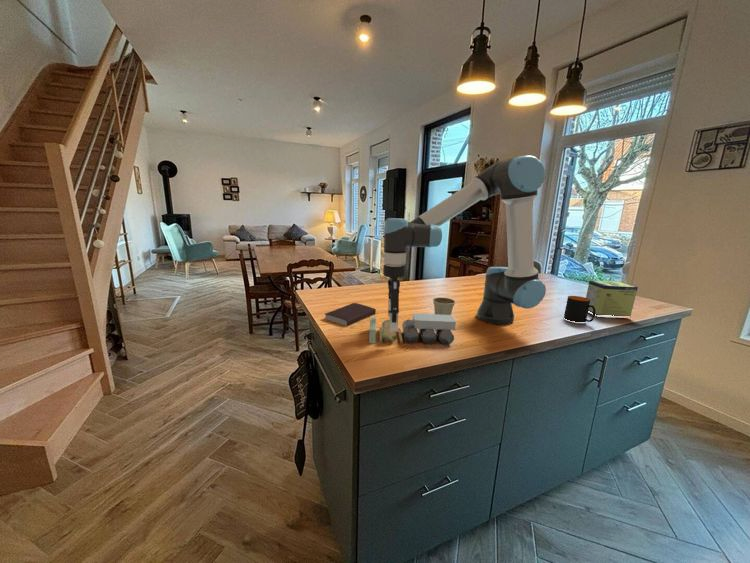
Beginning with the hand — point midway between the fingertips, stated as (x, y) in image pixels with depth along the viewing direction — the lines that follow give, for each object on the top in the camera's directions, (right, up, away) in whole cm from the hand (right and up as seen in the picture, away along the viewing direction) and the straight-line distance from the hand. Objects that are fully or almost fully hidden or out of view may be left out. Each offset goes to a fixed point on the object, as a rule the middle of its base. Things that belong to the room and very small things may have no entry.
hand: (392, 323), depth 108 cm
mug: (+83, -3, +25) cm, 87 cm away
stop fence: (-7, -5, +1) cm, 9 cm away
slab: (+14, -1, 0) cm, 15 cm away
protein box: (+104, -1, +37) cm, 111 cm away
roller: (-1, -5, +1) cm, 5 cm away
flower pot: (+22, -2, +21) cm, 31 cm away
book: (-17, -1, +20) cm, 26 cm away
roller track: (+8, -5, +1) cm, 10 cm away
